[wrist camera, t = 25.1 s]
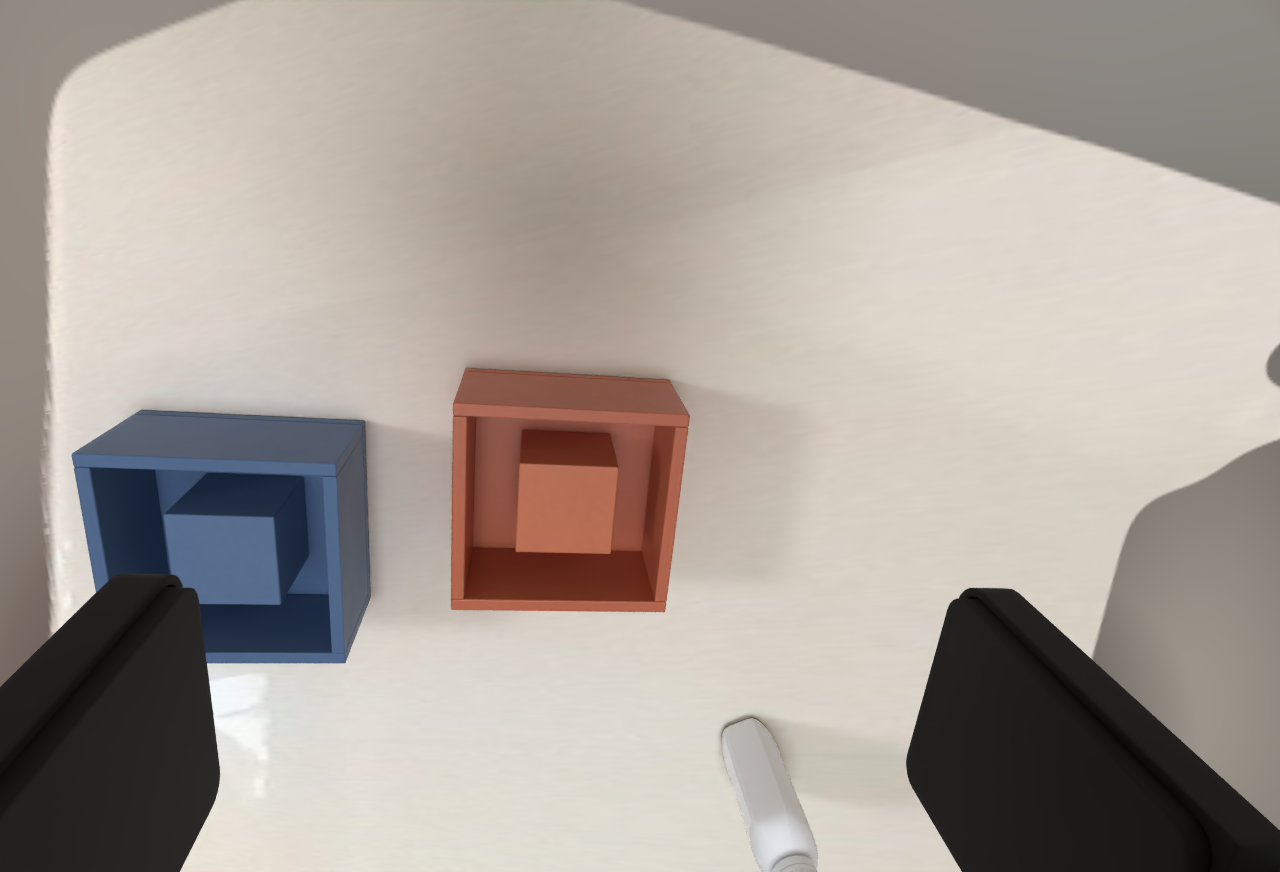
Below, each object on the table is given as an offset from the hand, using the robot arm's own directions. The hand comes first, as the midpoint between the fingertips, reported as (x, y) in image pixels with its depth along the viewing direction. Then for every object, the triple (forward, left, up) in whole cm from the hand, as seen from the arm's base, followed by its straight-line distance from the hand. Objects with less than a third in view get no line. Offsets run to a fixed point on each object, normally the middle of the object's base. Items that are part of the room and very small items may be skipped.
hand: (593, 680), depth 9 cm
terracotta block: (+9, +1, -28) cm, 29 cm away
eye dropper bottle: (+28, +14, -28) cm, 42 cm away
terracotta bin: (+9, +1, -28) cm, 30 cm away
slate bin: (+12, -14, -28) cm, 34 cm away
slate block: (+12, -14, -28) cm, 33 cm away
